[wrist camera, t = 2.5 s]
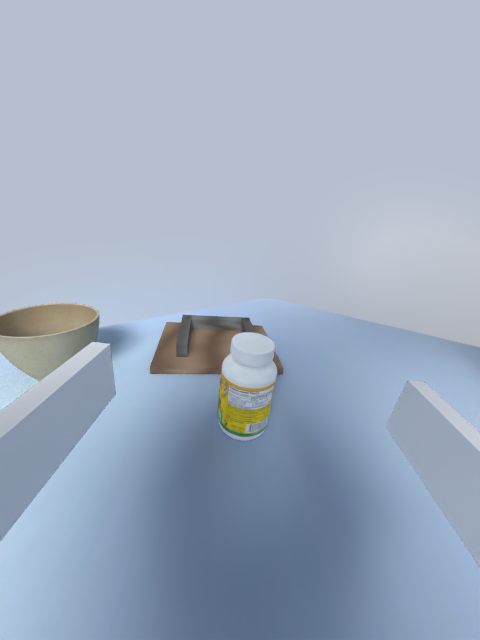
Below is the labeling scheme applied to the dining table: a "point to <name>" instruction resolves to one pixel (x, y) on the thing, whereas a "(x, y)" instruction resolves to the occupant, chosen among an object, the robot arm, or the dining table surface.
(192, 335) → the u rest
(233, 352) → the supplement bottle
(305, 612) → the dining table surface
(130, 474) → the dining table surface
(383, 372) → the dining table surface
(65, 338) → the beige bowl
